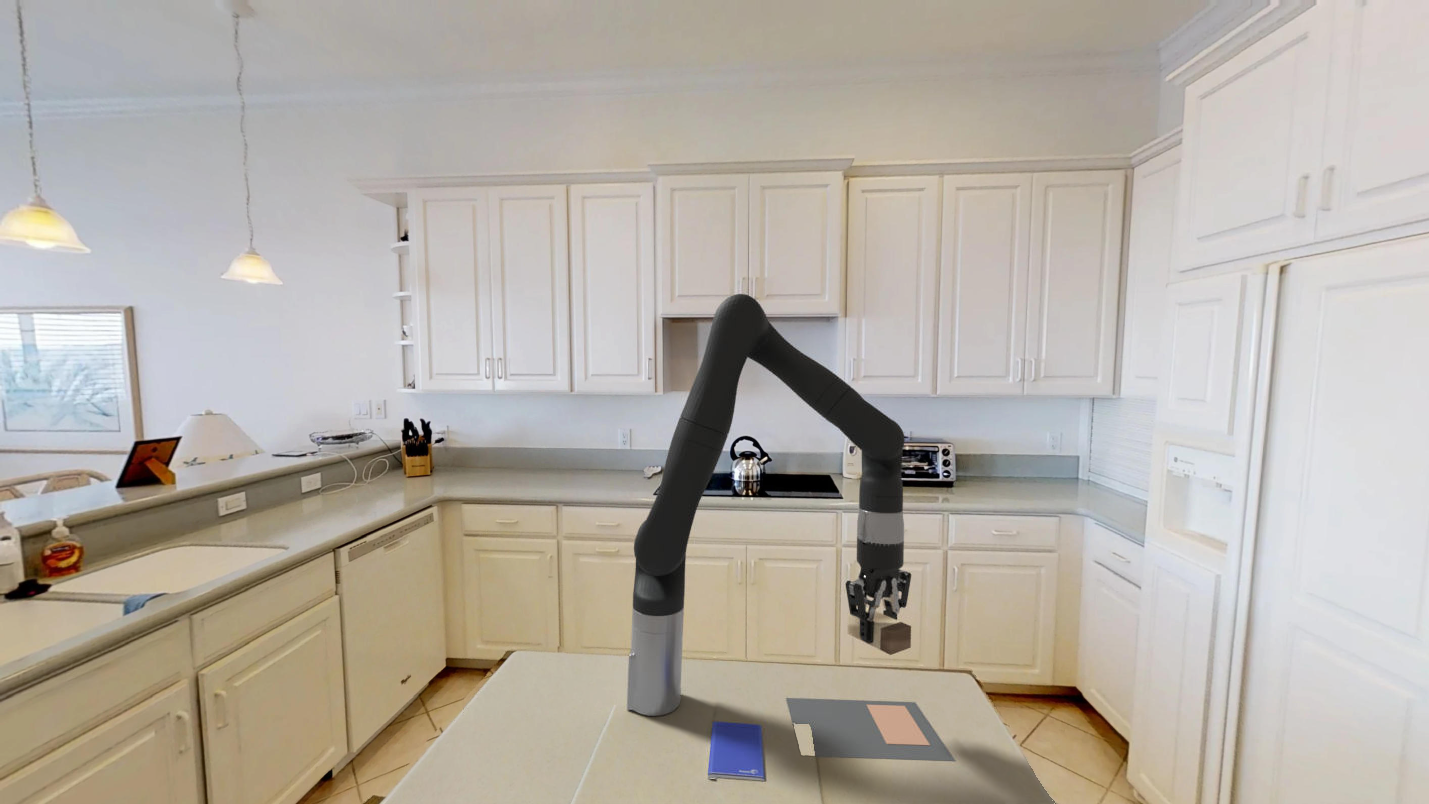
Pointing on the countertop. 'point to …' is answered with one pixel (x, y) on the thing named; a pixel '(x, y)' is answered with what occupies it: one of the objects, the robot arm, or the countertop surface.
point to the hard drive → (736, 751)
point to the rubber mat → (868, 729)
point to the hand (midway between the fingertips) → (878, 637)
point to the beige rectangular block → (884, 633)
